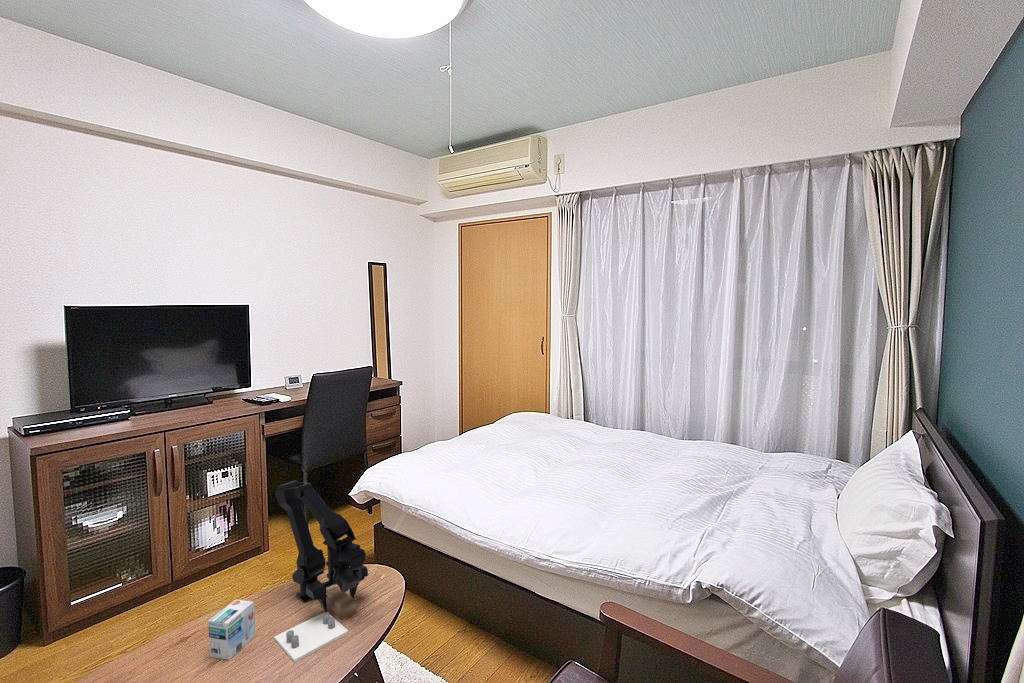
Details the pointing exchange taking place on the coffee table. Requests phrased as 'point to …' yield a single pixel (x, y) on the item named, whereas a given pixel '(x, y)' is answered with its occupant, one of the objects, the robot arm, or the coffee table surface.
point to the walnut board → (340, 603)
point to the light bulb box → (231, 629)
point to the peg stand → (310, 636)
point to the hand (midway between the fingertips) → (339, 605)
